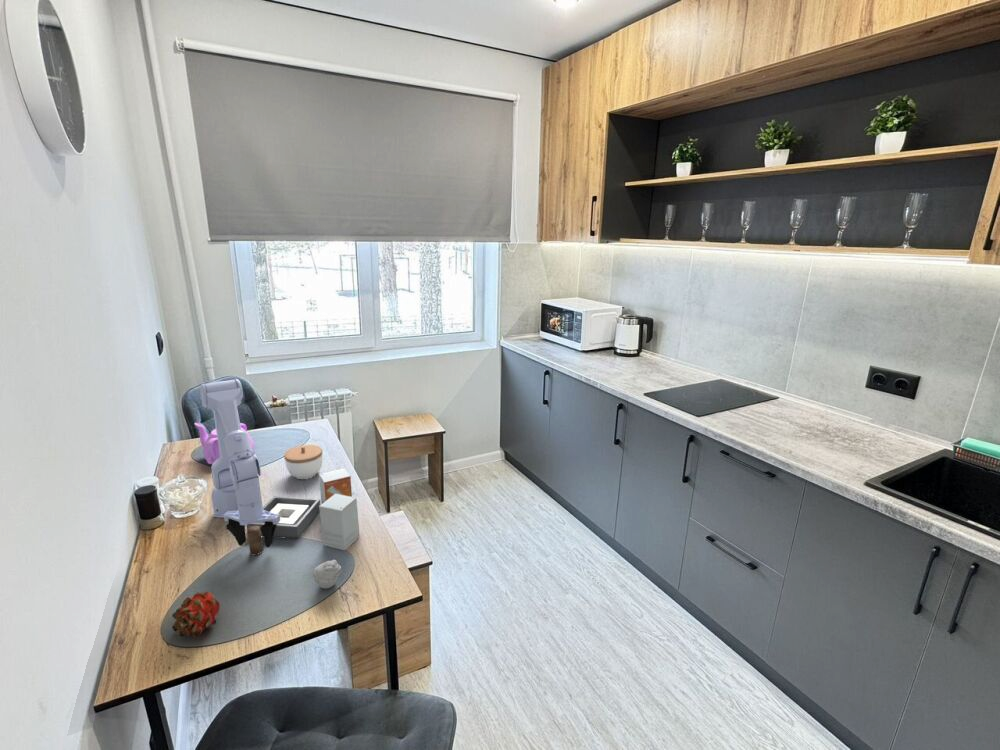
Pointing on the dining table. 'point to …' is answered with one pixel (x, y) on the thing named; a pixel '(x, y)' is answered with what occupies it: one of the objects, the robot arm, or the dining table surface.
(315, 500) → the square hole block
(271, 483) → the dining table surface
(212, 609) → the dragon fruit
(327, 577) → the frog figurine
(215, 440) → the teapot
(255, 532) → the peg
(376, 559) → the dining table surface
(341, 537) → the supplement box
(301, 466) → the lidded bowl
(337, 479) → the small box
